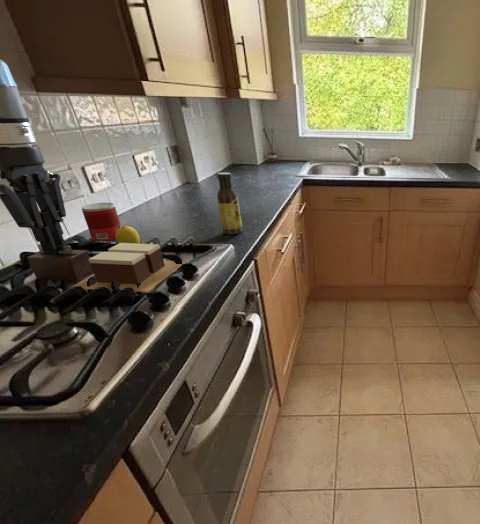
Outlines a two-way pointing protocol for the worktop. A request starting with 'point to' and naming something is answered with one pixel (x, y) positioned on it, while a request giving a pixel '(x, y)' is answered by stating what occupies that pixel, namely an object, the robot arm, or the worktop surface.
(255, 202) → the worktop surface
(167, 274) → the cutting board
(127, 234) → the lemon
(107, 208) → the canned food
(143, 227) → the worktop surface
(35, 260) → the knife block
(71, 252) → the scraper
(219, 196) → the sauce bottle
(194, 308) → the worktop surface
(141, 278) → the cake
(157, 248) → the cake
